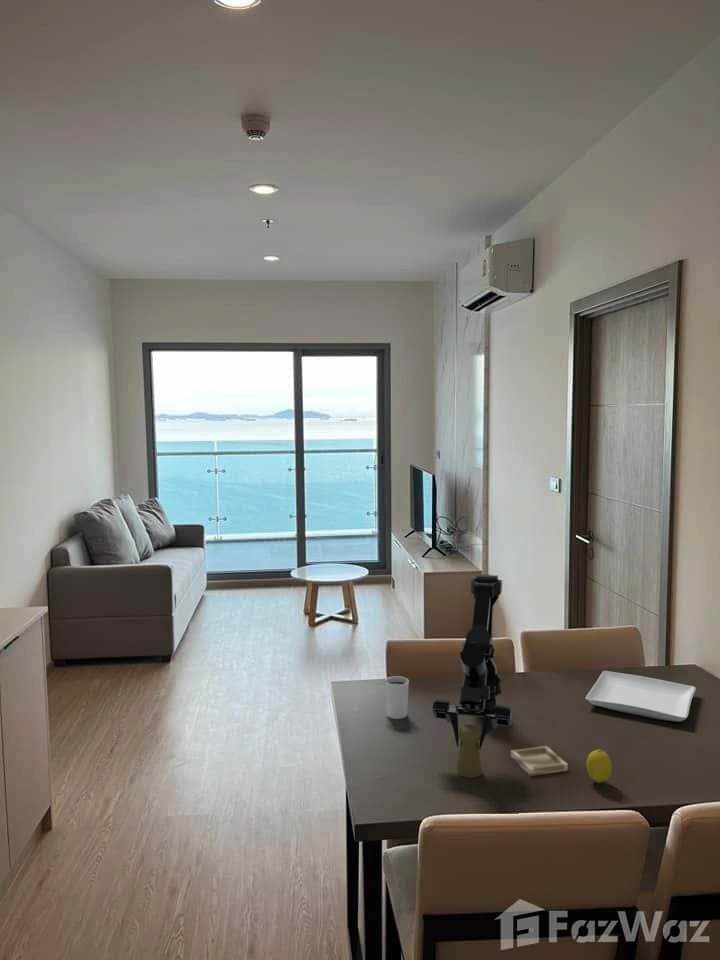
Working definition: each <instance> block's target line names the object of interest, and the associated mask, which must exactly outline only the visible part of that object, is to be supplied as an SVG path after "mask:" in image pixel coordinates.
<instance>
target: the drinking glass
mask: <svg viewBox="0 0 720 960" xmlns="http://www.w3.org/2000/svg"><path fill="white" fill-rule="evenodd" d="M384 680H385V681H384V682H385V683H384V687H385V705H386V706H385V708H386V711H385V712H386V716H387V717H388V718H389V719H390V718H391V719H394V720H395V719H396V720H401V719H404V718H406V717H407V715H408V703H409V702H408V700H409V683H410V681H409V679H408V678H407V677H404V676H397V675H395V676H394V675H393V676H389V677H387V678H385V679H384Z"/></svg>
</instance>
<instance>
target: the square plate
mask: <svg viewBox="0 0 720 960" xmlns="http://www.w3.org/2000/svg"><path fill="white" fill-rule="evenodd" d="M696 690H697V687H695V685H694V686H693V685H689V684H688V685H687V684H682V683H678V682H673V681H668V680H663V679H658V678H654V677H653V678H652V677H647V676H642V675H636V674H629V673H624V672H623V673H622V672H615V671H611V670H610V671H608V670H603V671H602V672H601V674H600V675H599V676H598V679H597V680H596V682H595V683H594V685H593V686H592V688H591V689H590V690H589V692H588V693H587V695H586V696H585V700H587V701H588V702H589V703H590V704H592V705H593V706H596V707H600V708H604V709H605V708H606V709H608V710H612V711H616V712H621V713H624V714H625V713H626V714H631V715H636V716H640V717H641V716H642V717H645V718H651V719H655V720H662V721H671V722H678V723H679V722H680V723H681V722H683V721H685V720H686V719H687V718H688V716H689V713H690V708H691V703H692V700H693V697H694V695H695V693H696Z"/></svg>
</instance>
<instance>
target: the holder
mask: <svg viewBox="0 0 720 960" xmlns="http://www.w3.org/2000/svg"><path fill="white" fill-rule="evenodd" d="M510 758H511V759H512V760H513V761H514V762H515V763H516V764H517V765H518V766H519V767H520V768H521V769H523V771H524V772H526V774H527V775H528V776H529V777H531V776H532V777H533V776H539V775H548V774H554V773H560V772H566V771H568V770H569V769H568V768H569V766H568V765H569V764H568V762H566V761H565V760H563V758H561V757H560V756H559V755H558V754H557V753H556V752H554V751H553V750H552V749H551V748H550V747H549V746H547V745H543V746H542V745H541V746H536V747H535V746H534V747H527V748H521V749H520V748H519V749H512V750H510Z"/></svg>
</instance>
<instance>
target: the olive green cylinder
mask: <svg viewBox="0 0 720 960" xmlns="http://www.w3.org/2000/svg"><path fill="white" fill-rule="evenodd" d="M480 737H481V729H480V728H479V727H477V726H476V725H473V724H464V725H462V726H461V727H459V741H460V742H459V751H458V755H457V756H458V759H457V764H456V773H457V774H458V775H459V776H462V777H464V778H468V779H469V778H471V779H473V778H474V779H475V778H478V777H480V776H481V775H482V773H483V771H482V764H481V754H480V749H479V742H480Z"/></svg>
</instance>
